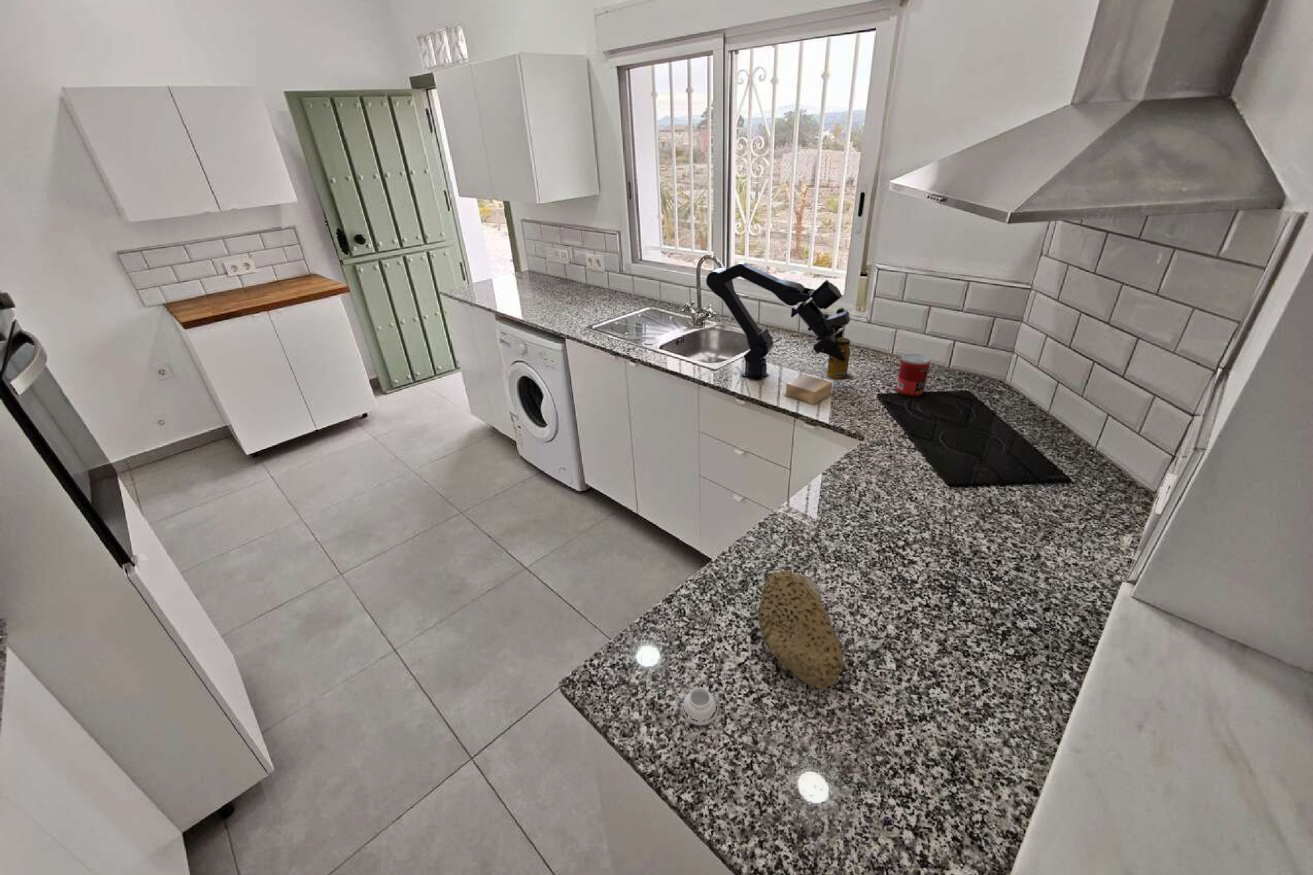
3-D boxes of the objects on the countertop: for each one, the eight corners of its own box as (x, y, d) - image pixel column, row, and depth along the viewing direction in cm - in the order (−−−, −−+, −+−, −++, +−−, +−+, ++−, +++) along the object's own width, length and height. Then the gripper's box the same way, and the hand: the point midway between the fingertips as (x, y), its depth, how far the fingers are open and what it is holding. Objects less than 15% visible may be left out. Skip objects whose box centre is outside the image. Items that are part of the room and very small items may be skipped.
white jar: (724, 716, 75) (705, 688, 79) (725, 702, 74) (705, 675, 78) (694, 733, 73) (675, 704, 77) (694, 719, 72) (675, 690, 76)
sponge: (757, 596, 96) (745, 673, 78) (769, 559, 94) (759, 629, 75) (831, 620, 94) (837, 705, 75) (845, 583, 91) (854, 661, 73)
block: (785, 395, 168) (786, 383, 166) (803, 385, 174) (804, 374, 172) (813, 404, 162) (815, 392, 160) (831, 394, 168) (832, 382, 166)
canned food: (919, 398, 162) (927, 364, 157) (892, 393, 166) (898, 359, 161) (926, 390, 167) (933, 356, 162) (899, 384, 172) (905, 351, 166)
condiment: (821, 373, 173) (826, 337, 167) (846, 370, 174) (851, 334, 168) (831, 381, 167) (836, 344, 161) (857, 379, 168) (863, 342, 162)
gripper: (829, 309, 153) (864, 351, 154) (841, 294, 168) (873, 332, 168) (799, 333, 160) (832, 373, 161) (813, 316, 175) (843, 353, 175)
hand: (846, 357), depth 166 cm, fingers closed on condiment, 6 cm apart
